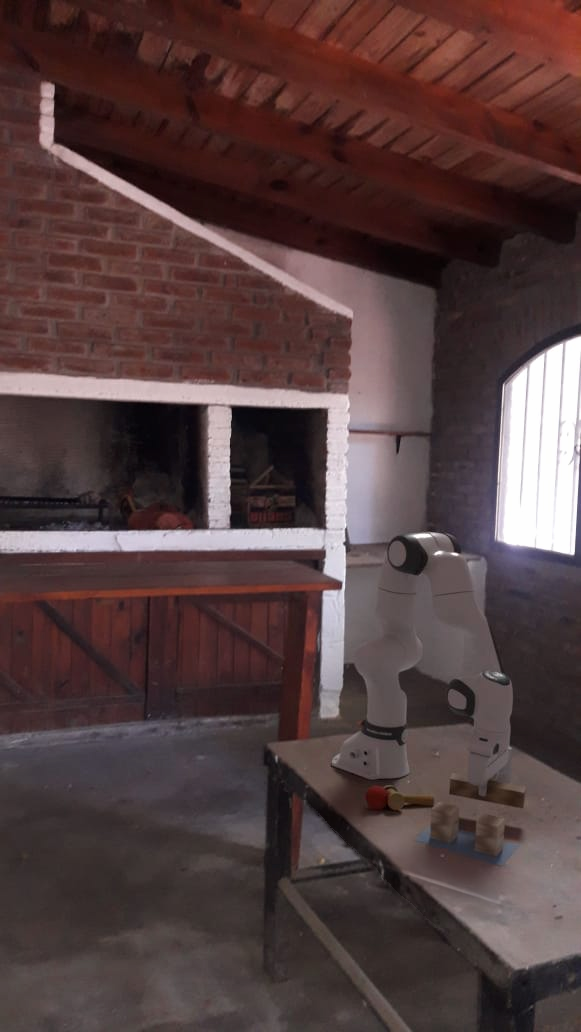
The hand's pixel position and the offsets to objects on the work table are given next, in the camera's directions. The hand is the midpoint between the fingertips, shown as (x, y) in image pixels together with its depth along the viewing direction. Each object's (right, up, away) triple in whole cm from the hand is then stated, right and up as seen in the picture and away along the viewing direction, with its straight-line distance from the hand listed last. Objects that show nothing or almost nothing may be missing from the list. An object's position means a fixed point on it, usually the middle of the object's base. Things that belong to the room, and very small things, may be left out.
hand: (487, 791), depth 208 cm
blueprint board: (-8, -8, -13) cm, 18 cm away
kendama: (-21, -7, +7) cm, 23 cm away
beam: (0, -2, 0) cm, 2 cm away
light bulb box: (+8, -6, +27) cm, 29 cm away
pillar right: (-3, -8, -16) cm, 18 cm away
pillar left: (-13, -7, -10) cm, 18 cm away
